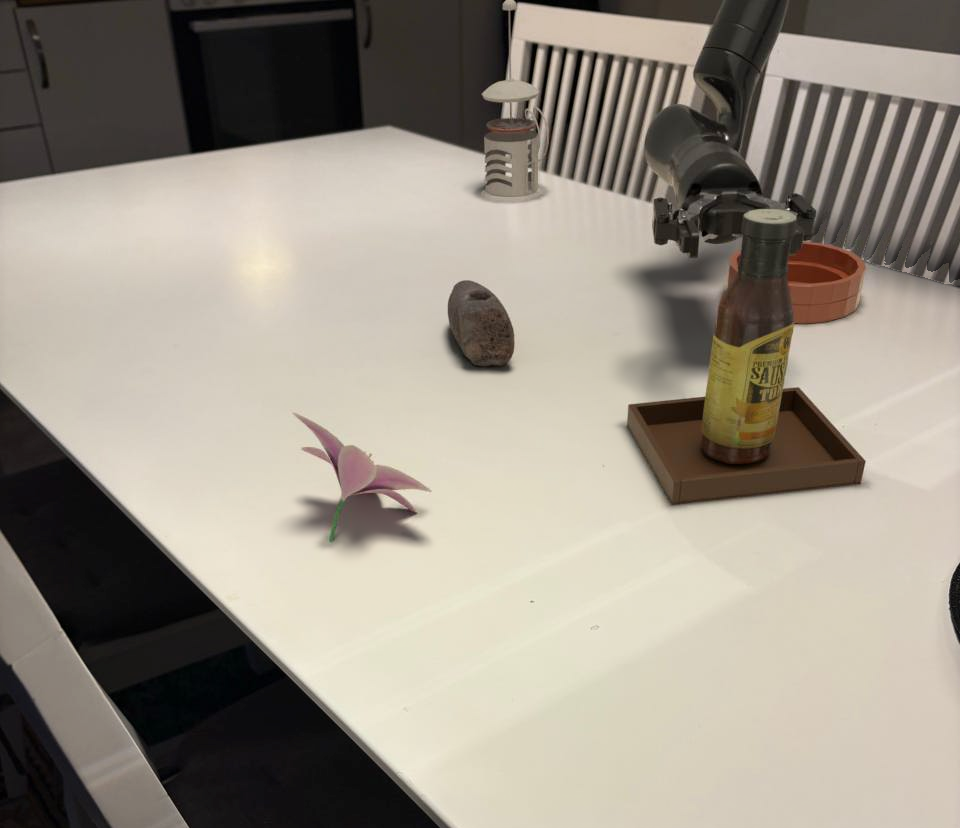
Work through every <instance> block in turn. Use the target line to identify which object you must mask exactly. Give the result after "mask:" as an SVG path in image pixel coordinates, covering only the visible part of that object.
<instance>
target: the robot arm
mask: <svg viewBox="0 0 960 828" xmlns="http://www.w3.org/2000/svg"><path fill="white" fill-rule="evenodd" d="M789 3H790V0H722V3H721V5H720V8H719V10H718V12H717V14H716V17H715V19H714V21H713V23H712V24H711V25H712V26H711V28H710V29H709V32H708V34H707V37H706V39H705V41H704V44H703V45H702V48H701V50H700V53H699V54H698V57H697V59H696V62H695V65H694V68H693V72H692V78H693V81H694V82H695V84H696V86H697V87H698V88H699V89H700V90H701V91H702V92H703V93H704V94H705V95H706V96H707V97H708V98H709V99H710V100H711V101H712V103H713V104H714V106H715V110H716V120H715V119H713V118H711V117H709V116H707V114H703V113H702V112H701V111H698V110H696V109H694V108H693V107H690V106H689V105H686V104H683V103H674V104H670V105H668V106H666V107H664V108H663V109H661V110H660V111H659V112H658V113H657V114H656V115H655V116H654V118H653V119H652V120H651V122H650V124H649V126H648V129H647V131H646V133H645V139H644V146H643V147H644V148H643V149H644V151H643V152H644V157H645V161H646V163H647V165H648V167H649V169H650V170H651V171H652V172H653V173H654V174H656V175H657V176H658V177H659V178H660V179H661V180H663V182H665V183H666V184H668V185H669V186H670V187H671V188H672V189H673V192H674V200H675V205H676V206H673V203H672V202H671V201H669V202H668V199H667V198H665V197H657V198H654V199H653V203H652V204H653V205H652V220H651V229H652V236H653V242H654V244H655V245H657V246H666V245H668V243H669V241H672V242H674V246H676V247H678V250H679V252H681V253H682V254H687V255H686V256H687V257H688V259H698V256H699V247H700V245H701V244H702V243H707V244H712V245H724V244H727V243H731V242H733V241H736V240H737V239H743V236H742V231H741V229H742V221H743V216H744V214H745V213H746V212H748V211H751V210H756V209H778V210H784V211H788V212H790V213H792V214H794V215H795V216H796V218H797V223H796V231H795V235H794V237H793V238H792V241H791V246H790V253H789V255H796V253H797V250H801V249H802V245H803V241H806V242H809V241H812V240H813V235H814V227H815V219H816V217H817V212H818V211H817V210H816V209H815V208H814V207H813V206H812V204H810V202H808V200H806V199H805V198H804V197H803V196H802V194H800V193H798V192H794V193H789V194H788V195H787V199H785V202H779V201H777V200H774V199H771V198H769V197H766V196H764V194H763V191H762V187H761V184H760V181H759V180H758V178H757V176H756V174H755V173H754V171H752V169H751V168H750V166H749V164H748V163H747V162H746V160H745V159H744V157H743V156H742V155H741V153H742V149H743V143H744V138H745V137H744V136H745V130H746V126H747V120H748V117H749V112H750V109H751V104H752V101H753V100H752V99H753V97H754V93H755V89H756V87H757V84H758V82H759V80H760V77H761V76H762V74H763V72H764V69H765V67H766V65H767V63H768V60H769V58H770V56H771V54H772V52H773V50H774V48H775V45H776V43H777V41H778V38H779V37H780V33H781V30H782V27H783V24H784V21H785V18H786V15H787V12H788V7H789Z"/></svg>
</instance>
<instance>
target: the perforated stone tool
mask: <svg viewBox="0 0 960 828" xmlns="http://www.w3.org/2000/svg"><path fill="white" fill-rule="evenodd" d="M447 318H448V323H449V327H450V329H451V333H452V334H453V337H454V338H455V340H456V342H457V344H458V346H459V348H460V350H461V351H462V353H463V355H464V356H465V357H466V358H467V359H468V360H470V362H471V363H472V364H473V365H474V366H476V367H477V366H479V367H482V368H485V367H491V366H493V367H496V366H497V367H499V366H503V365H506V364H507V363H508V362H509V361H511V359H512V357H513V355H514V352H515V344H516V343H515V330H514V327H513V324H512V321H511V318H510V316H509V313H508V312H507V310H506V307H504V304H503V303H502V302H501V300H500V299H499V297H497V295H496V294H494V292H492V291H491V290H490V289H489V288H487V287H486V286H484V285H482V284H480V283H478V282H475V281H473V280H468V279H464V280H460V281H458V282H456V283H455V284H454V285H453V287H452V289H451V292H450V294H449V297H448V299H447Z"/></svg>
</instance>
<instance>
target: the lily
mask: <svg viewBox="0 0 960 828" xmlns="http://www.w3.org/2000/svg"><path fill="white" fill-rule="evenodd" d="M291 413H292V415H294V417H295V418H296V419H298V420H299V421H300V422H301V423H302V424H304V425H305V426H306V427H307V429H309V430H310V431H311V433H313V434H314V436H315V437H316V438H317V439H318V441H319V443H320V444H321V446H322V447H323V449H324V450H323V449H321V448H318V447H315V446H314V447H313V446H303V447H300V450H302V451H303V452H305V453H308V454H310V455H312V456H314V457H317V458H318V459H320V460H323V461H325V462H327V463H329V464H330V465H331V467H332V468H333V470H334V473H335V475H336V478H337V481H338V484H339V487H340V491H341V496H340V499H339V502H338V505H337V507H336V511H335V513H334V516H333V520H332V526H331V530H330V535H329V541H328V542H329V543H332V542H334V537H335V533H336V528H337V525H338V524H337V523H338V519H339V515H340V513H341V509H342V506H343V505H344V502H345V501H346V499H347V498H348V497H351V496H355V495H361V494H382V495H385V496H387V497H389V498H390V499H393V500H394V501H396V502H398V503H399V504H400V505H402V506H404V507H405V508H406V509H408V510H409V511H411V512H413V513H415V514H416V513H417V514H418V511H417V510H416V508H415V507H414V506H413V505H412V504H411V502H410V501H409V500H408V499H406V497H404V496H403V495H402V494H401V493H399V492H397V491H400V490H401V491H402V490H418V491H423V492H428V493H432V491H433V490H432V489H431V488H429V487H428V486H426V485H425V484H424V483H422V482H421V481H419V480H417V479H416V478H415V477H412V476H410V475H409V474H406V473H405V472H404V471H401V470H399V469H396V468H393V467H391V466H388V465H383V464H375V462H374V460H372V458H371V457H372V455H373V454H372V453H369V454H367V453H366V452H367V451H366V450H365V451H364V450H363V449H361V448H359V447H357V446H356V445H352V444H351V445H350V444H348V445H345V444H344V443H343V442H342V441H341V440H340V439H339V438H338V437H337V436H335V435H334V434H333V433H332V432H330V431H329V430H328V429H326V428H324V427H323V426H322V425H319V424H318V423H317V422H314V421H312V420H311V419H309V418H307V417H305V416H303V415H300V414H299V413H296V412H291Z"/></svg>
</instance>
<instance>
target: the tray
mask: <svg viewBox="0 0 960 828" xmlns="http://www.w3.org/2000/svg"><path fill="white" fill-rule="evenodd" d="M704 404H705V396H698V397H687V398H679V399H678V398H677V399H668V400H657V401H647V402H638V403H630V404H628V405H627V417H626V418H627V419H626V427H627V429H628V431H629V432H630V435H631V436H632V437H633V440H634V441H635V443H636V444H637V446H638V448H639V449H640V452H641V453H642V456H643V457H644V458H645V460H646V462H647V464H648V465H649V467H650V469H651V471H652V473H653V475H654V476H655V478H656V479H657V482H658V484H659V485H660V486H661V487H660V488H662V490H663V492H664V493H665V495H666V497H667V499H668V501H669V502H670V504H671V505H672V506H674V505H675V506H676V505H684V504H692V503H702V502H710V501H711V502H712V501H720V500H728V499H729V500H730V499H737V498H739V499H740V498H747V497H756V496H766V495H775V494H783V493H791V492H801V491H802V492H803V491H809V490H818V489H819V490H820V489H827V488H836V487H846V486H856V485H861V484H862V480H863V475H864V470H865V466H866V463H867V461H866V460H865V458H864V457H863V456H862V455H861V454H860V453H859V452H858V451H857V450H856V448H855V447H854V446H853V445H852V444H851V443H850V442H849V440H847V439H846V437H845V436H844V435H843V434H842V433H841V432H840V431H839V429H837V427H836V426H835V425H834V424H833V423H832V422H831V421H830V419H828V417H827V416H825V414H824V413H823V412H822V411H821V410H820V409H819V408H818V407H817V405H815V403H814V402H813V401H812V400H811V399H810V398H809V396H807V395H806V394H805V392H804V391H803V390H802V389H801V388H800V387H799V386H797V387H786V388H783V391H782V397H781V403H780V408H779V414H778V420H777V425H776V431H775V437H774V439H773V441H772V442H771V447H770V450H769V452H768V454H767V456H766V457H765V458H764V459H763V460H761V461H757V462H754V463H749V464H726V463H723V462H720V461H718V460H714V459H712V458H710V457H708V456H707V455H706V454H705V453H704V451H703V449H702V436H703V433H702V431H701V428H702V420H703V411H704Z"/></svg>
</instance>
